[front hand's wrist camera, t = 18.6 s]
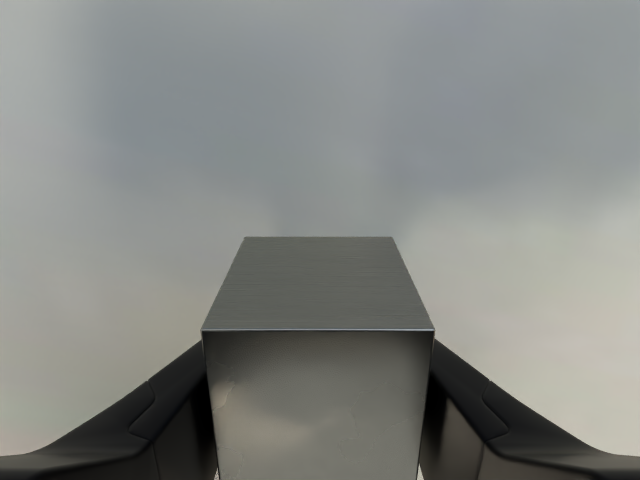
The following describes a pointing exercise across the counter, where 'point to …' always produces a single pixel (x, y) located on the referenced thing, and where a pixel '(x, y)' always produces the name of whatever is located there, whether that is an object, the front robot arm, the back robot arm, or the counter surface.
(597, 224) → the counter surface
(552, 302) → the counter surface
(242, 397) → the block
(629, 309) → the counter surface
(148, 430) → the front robot arm
